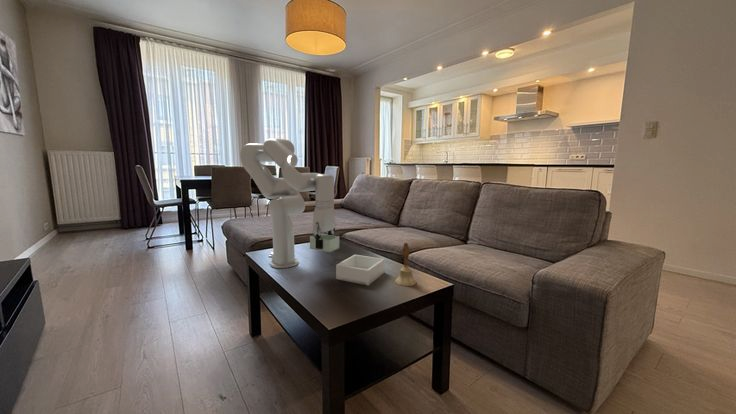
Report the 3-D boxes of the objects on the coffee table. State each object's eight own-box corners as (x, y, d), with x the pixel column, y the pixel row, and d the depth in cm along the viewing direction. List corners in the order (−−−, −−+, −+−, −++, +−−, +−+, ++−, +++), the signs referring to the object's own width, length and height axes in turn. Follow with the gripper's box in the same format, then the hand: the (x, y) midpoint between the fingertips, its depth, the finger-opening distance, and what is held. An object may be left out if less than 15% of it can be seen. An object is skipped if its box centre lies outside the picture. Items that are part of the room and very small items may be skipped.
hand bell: (406, 288, 114) (407, 247, 112) (390, 281, 120) (391, 242, 118) (420, 282, 119) (421, 243, 117) (405, 276, 126) (405, 239, 123)
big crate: (336, 279, 123) (336, 264, 122) (355, 267, 137) (354, 254, 136) (368, 285, 116) (368, 270, 115) (384, 272, 130) (384, 259, 129)
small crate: (309, 248, 126) (309, 236, 125) (319, 244, 132) (319, 233, 132) (329, 252, 122) (330, 240, 121) (339, 248, 128) (339, 236, 127)
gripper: (329, 201, 133) (328, 240, 136) (303, 206, 118) (304, 250, 121) (343, 202, 130) (343, 242, 133) (319, 208, 115) (319, 253, 118)
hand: (324, 245), depth 127 cm, fingers closed on small crate, 7 cm apart
